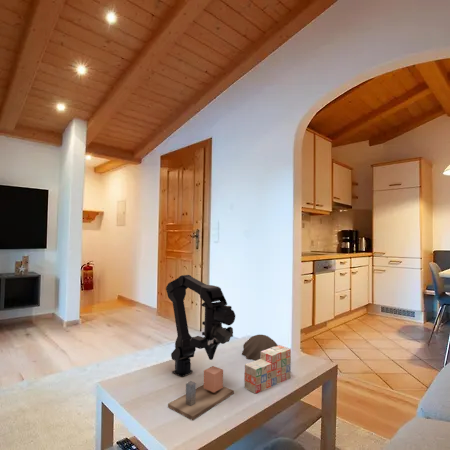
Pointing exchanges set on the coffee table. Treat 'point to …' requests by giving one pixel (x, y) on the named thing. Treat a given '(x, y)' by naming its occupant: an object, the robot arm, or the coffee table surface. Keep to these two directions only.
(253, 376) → the stack of blocks
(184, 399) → the board
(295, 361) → the coffee table surface
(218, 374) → the salmon orange block
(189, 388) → the steel post
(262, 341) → the decorative dome
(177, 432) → the coffee table surface
